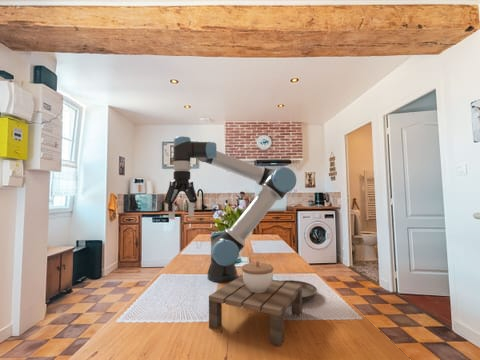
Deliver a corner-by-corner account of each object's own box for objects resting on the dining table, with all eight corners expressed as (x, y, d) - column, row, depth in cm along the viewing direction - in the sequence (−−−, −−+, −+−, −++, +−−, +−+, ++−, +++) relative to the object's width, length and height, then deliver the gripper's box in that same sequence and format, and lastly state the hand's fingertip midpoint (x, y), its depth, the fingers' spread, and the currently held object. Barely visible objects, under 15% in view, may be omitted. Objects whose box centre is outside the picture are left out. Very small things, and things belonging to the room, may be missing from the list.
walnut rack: (242, 300, 108) (242, 274, 108) (302, 312, 97) (301, 284, 97) (208, 327, 87) (208, 295, 87) (280, 346, 76) (279, 310, 76)
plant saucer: (258, 290, 119) (258, 282, 119) (298, 284, 126) (298, 277, 126) (282, 309, 100) (282, 300, 100) (328, 301, 107) (327, 292, 107)
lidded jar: (256, 281, 100) (256, 256, 100) (279, 289, 92) (279, 261, 93) (235, 289, 92) (235, 261, 93) (259, 298, 85) (258, 268, 85)
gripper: (192, 172, 136) (192, 215, 135) (155, 169, 113) (155, 220, 113) (204, 172, 132) (204, 215, 131) (169, 168, 110) (169, 220, 109)
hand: (181, 217), depth 122 cm, fingers open, 13 cm apart
